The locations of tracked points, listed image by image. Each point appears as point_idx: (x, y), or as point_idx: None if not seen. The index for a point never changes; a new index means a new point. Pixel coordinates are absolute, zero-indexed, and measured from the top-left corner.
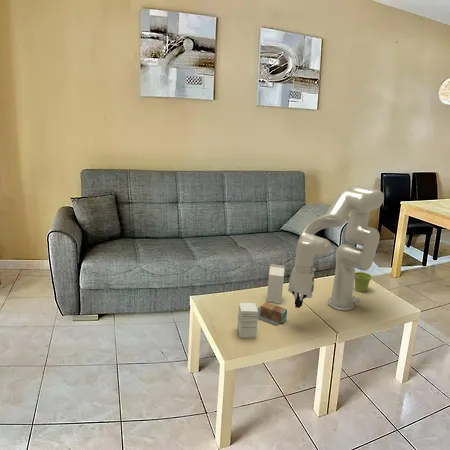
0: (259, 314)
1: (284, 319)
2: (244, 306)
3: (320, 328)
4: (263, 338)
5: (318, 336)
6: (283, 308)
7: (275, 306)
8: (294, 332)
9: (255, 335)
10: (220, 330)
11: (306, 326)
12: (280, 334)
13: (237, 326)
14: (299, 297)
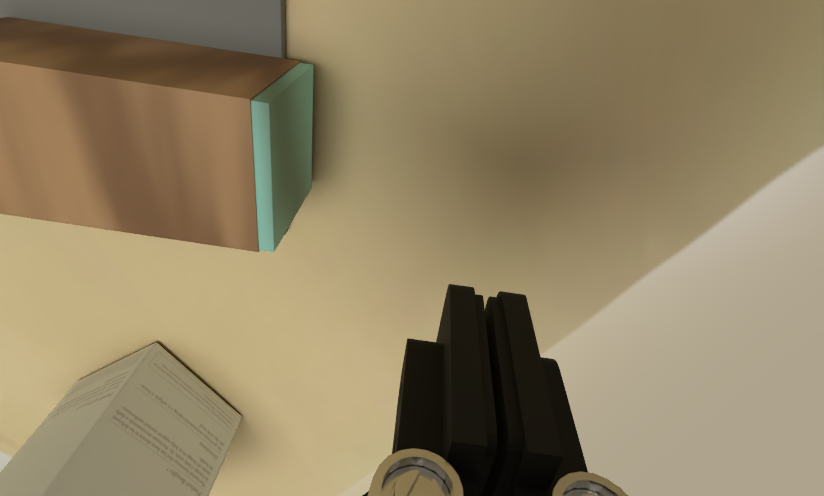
0: None
1: (307, 128)
2: None
3: (767, 41)
4: (288, 407)
5: (717, 221)
6: (207, 111)
7: (78, 114)
8: (473, 256)
9: (233, 433)
10: (22, 427)
11: (580, 86)
12: (372, 328)
13: (65, 397)
14: (477, 476)
